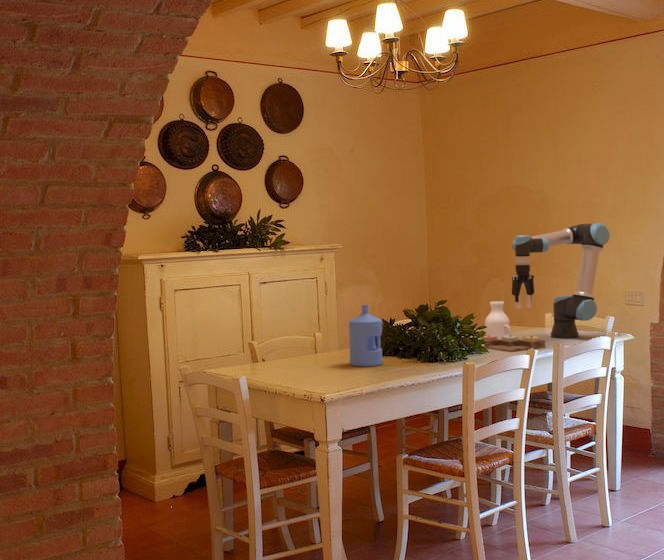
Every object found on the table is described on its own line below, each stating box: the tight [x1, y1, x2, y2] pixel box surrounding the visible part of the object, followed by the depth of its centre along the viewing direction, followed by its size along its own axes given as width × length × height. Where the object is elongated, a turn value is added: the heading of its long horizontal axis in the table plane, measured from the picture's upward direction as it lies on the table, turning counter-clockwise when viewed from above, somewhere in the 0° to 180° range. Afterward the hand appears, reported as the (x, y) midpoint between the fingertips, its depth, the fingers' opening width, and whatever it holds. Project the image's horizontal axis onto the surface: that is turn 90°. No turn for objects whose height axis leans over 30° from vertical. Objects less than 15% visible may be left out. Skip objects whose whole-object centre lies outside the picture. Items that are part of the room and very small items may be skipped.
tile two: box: [480, 335, 497, 341], centre depth 449 cm, size 6×6×3 cm
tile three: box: [522, 335, 541, 342], centre depth 441 cm, size 6×6×3 cm
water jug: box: [348, 304, 384, 368], centre depth 400 cm, size 16×16×28 cm
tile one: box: [502, 335, 519, 342], centre depth 445 cm, size 6×6×3 cm
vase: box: [484, 300, 511, 336], centre depth 490 cm, size 14×14×20 cm
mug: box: [491, 321, 512, 340], centre depth 472 cm, size 12×8×10 cm
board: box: [484, 339, 546, 353], centre depth 445 cm, size 24×27×4 cm
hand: (523, 307), depth 451 cm, fingers open, 6 cm apart
